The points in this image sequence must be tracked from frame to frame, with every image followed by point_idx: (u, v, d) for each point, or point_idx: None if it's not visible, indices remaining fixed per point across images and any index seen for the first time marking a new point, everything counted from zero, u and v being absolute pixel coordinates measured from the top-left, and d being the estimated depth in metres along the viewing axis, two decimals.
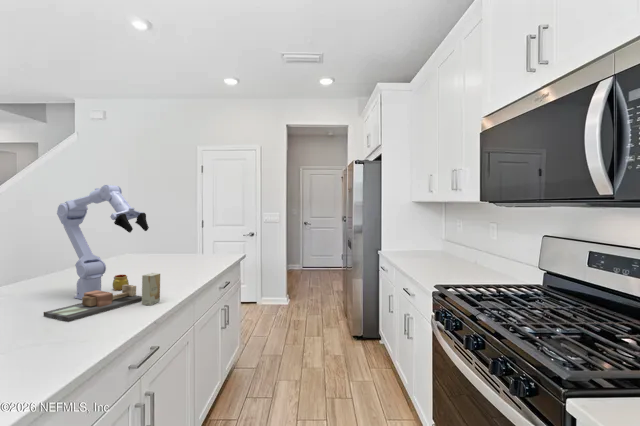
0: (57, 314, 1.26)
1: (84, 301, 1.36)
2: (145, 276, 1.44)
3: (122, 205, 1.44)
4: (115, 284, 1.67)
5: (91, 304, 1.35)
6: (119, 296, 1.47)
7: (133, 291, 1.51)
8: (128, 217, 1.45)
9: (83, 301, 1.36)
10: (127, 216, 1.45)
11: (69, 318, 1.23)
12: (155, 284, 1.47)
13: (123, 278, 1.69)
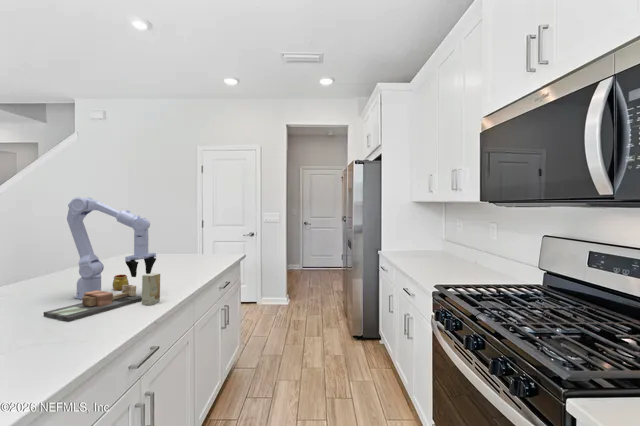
0: (57, 314, 1.26)
1: (84, 301, 1.36)
2: (145, 276, 1.44)
3: (141, 248, 1.55)
4: (115, 284, 1.67)
5: (91, 304, 1.35)
6: (119, 296, 1.47)
7: (133, 291, 1.51)
8: None
9: (83, 301, 1.36)
10: (139, 258, 1.56)
11: (69, 318, 1.23)
12: (155, 284, 1.47)
13: (123, 278, 1.69)
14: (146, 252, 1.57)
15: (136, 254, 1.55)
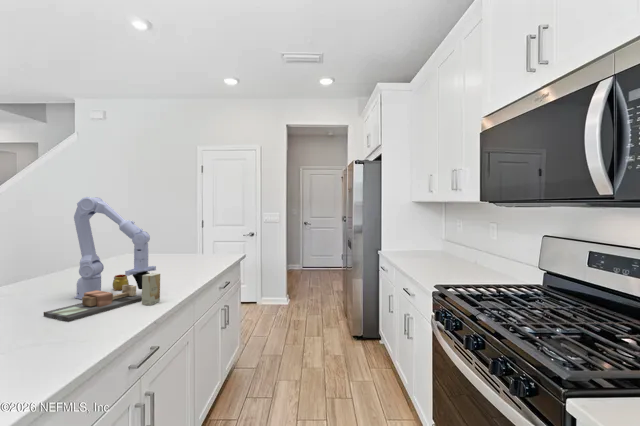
0: (57, 314, 1.26)
1: (84, 301, 1.36)
2: (145, 276, 1.44)
3: (141, 262, 1.55)
4: (115, 284, 1.67)
5: (91, 304, 1.35)
6: (119, 296, 1.47)
7: (133, 291, 1.51)
8: None
9: (83, 301, 1.36)
10: (139, 272, 1.57)
11: (69, 318, 1.23)
12: (155, 284, 1.47)
13: (123, 278, 1.69)
14: (146, 266, 1.57)
15: (136, 268, 1.55)
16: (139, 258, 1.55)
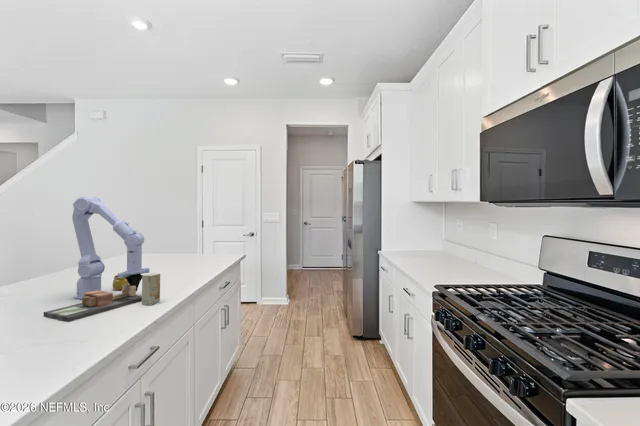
0: (57, 314, 1.26)
1: (84, 301, 1.36)
2: (145, 276, 1.44)
3: (134, 265, 1.52)
4: (115, 284, 1.67)
5: (91, 304, 1.35)
6: (119, 296, 1.47)
7: (133, 291, 1.51)
8: None
9: (83, 301, 1.36)
10: (132, 274, 1.53)
11: (69, 318, 1.23)
12: (155, 284, 1.47)
13: (123, 278, 1.69)
14: (139, 268, 1.54)
15: (129, 270, 1.52)
16: (131, 260, 1.52)
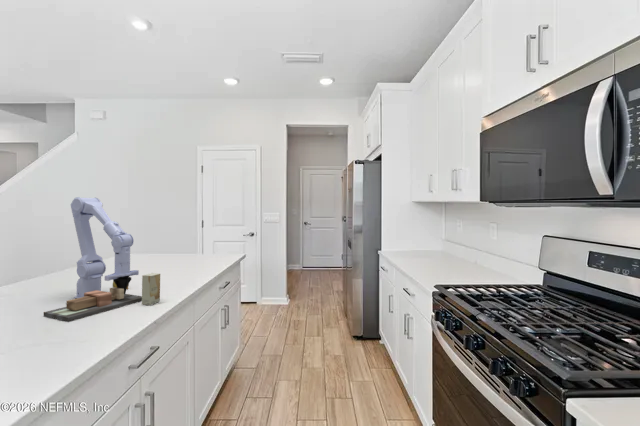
0: (57, 314, 1.26)
1: (68, 305, 1.30)
2: (145, 276, 1.44)
3: (122, 267, 1.47)
4: (115, 284, 1.67)
5: (75, 308, 1.29)
6: None
7: (121, 294, 1.46)
8: None
9: (67, 305, 1.31)
10: (120, 277, 1.48)
11: (69, 318, 1.23)
12: (155, 284, 1.47)
13: None
14: (127, 270, 1.48)
15: (117, 272, 1.46)
16: (117, 262, 1.46)
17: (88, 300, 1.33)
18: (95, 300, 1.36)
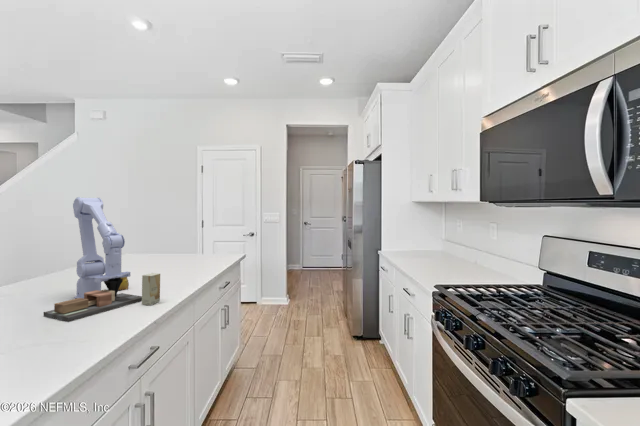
0: (57, 314, 1.26)
1: (56, 308, 1.27)
2: (145, 276, 1.44)
3: (113, 268, 1.43)
4: None
5: (63, 311, 1.25)
6: (96, 302, 1.38)
7: (112, 296, 1.42)
8: None
9: (55, 307, 1.27)
10: (111, 278, 1.44)
11: (69, 318, 1.23)
12: (155, 284, 1.47)
13: (123, 278, 1.69)
14: (118, 272, 1.44)
15: (107, 274, 1.43)
16: (106, 263, 1.43)
17: (77, 303, 1.30)
18: (84, 303, 1.32)
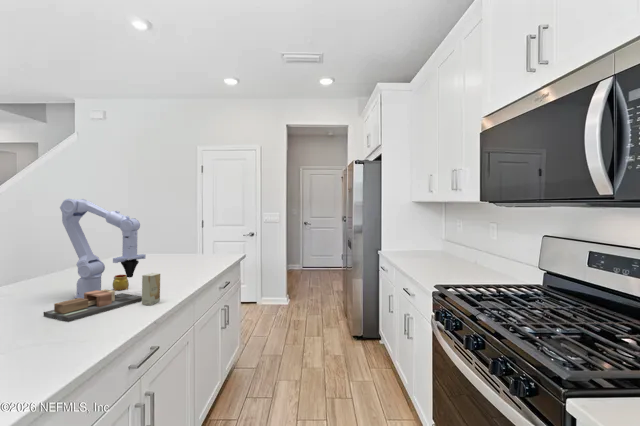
0: (57, 314, 1.26)
1: (56, 308, 1.27)
2: (145, 276, 1.44)
3: (129, 250, 1.51)
4: (115, 284, 1.67)
5: (63, 311, 1.25)
6: (96, 302, 1.38)
7: (112, 296, 1.42)
8: None
9: (55, 307, 1.27)
10: (128, 260, 1.53)
11: (69, 318, 1.23)
12: (155, 284, 1.47)
13: (123, 278, 1.69)
14: (135, 253, 1.53)
15: (124, 255, 1.51)
16: (126, 245, 1.51)
17: (77, 303, 1.30)
18: (84, 303, 1.32)
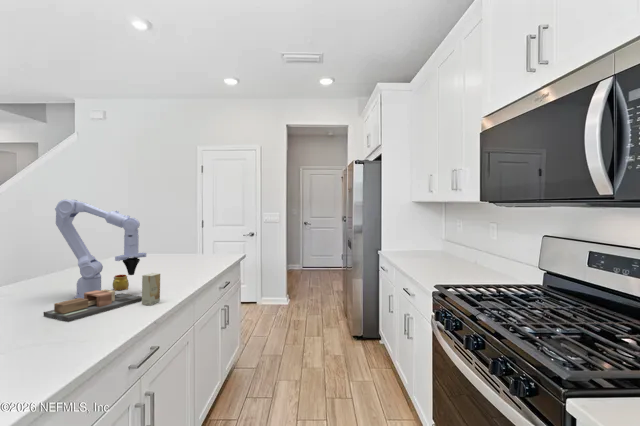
0: (57, 314, 1.26)
1: (56, 308, 1.27)
2: (145, 276, 1.44)
3: (131, 248, 1.56)
4: (115, 284, 1.67)
5: (63, 311, 1.25)
6: (96, 302, 1.38)
7: (112, 296, 1.42)
8: None
9: (55, 307, 1.27)
10: (129, 258, 1.57)
11: (69, 318, 1.23)
12: (155, 284, 1.47)
13: (123, 278, 1.69)
14: (136, 252, 1.58)
15: (126, 254, 1.56)
16: (130, 244, 1.56)
17: (77, 303, 1.30)
18: (84, 303, 1.32)
